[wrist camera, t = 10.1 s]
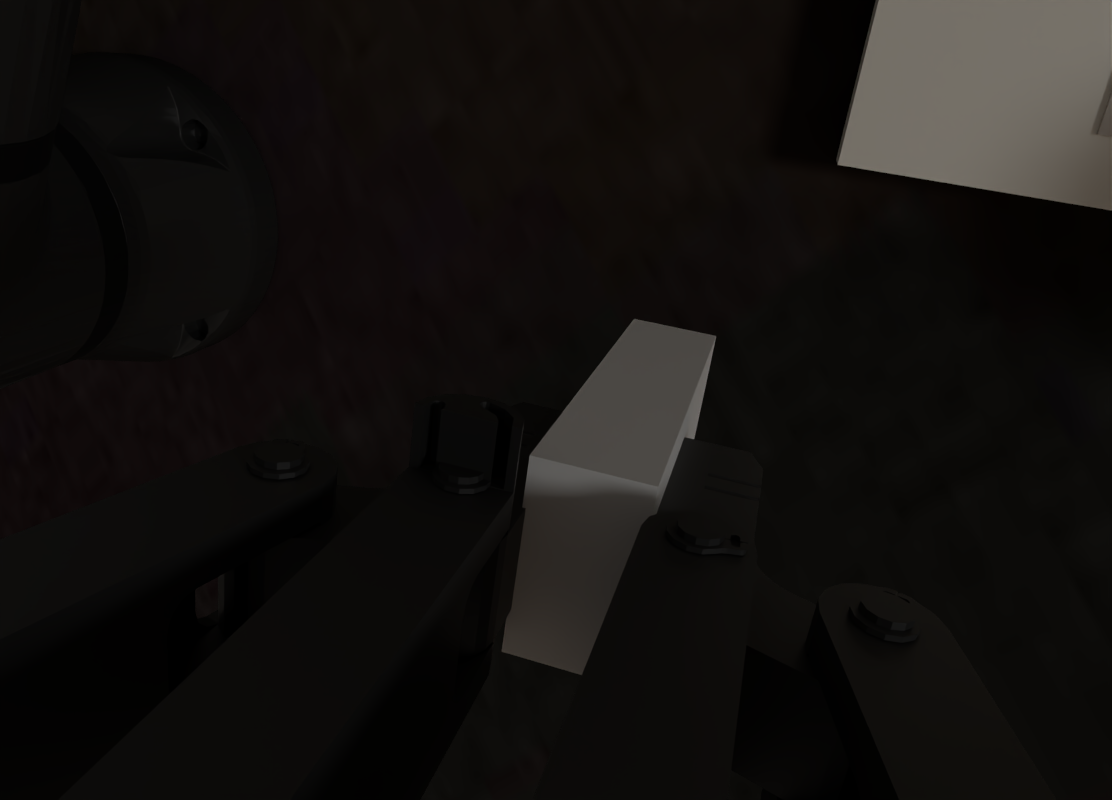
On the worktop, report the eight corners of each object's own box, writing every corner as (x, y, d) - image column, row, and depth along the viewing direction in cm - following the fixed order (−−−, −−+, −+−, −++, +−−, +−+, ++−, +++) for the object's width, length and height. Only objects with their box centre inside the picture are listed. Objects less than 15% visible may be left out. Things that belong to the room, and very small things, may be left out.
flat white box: (836, 159, 37) (837, 165, 34) (919, -176, 33) (927, -198, 30) (1266, 231, 34) (1302, 242, 31) (1422, -130, 29) (1478, -150, 27)
